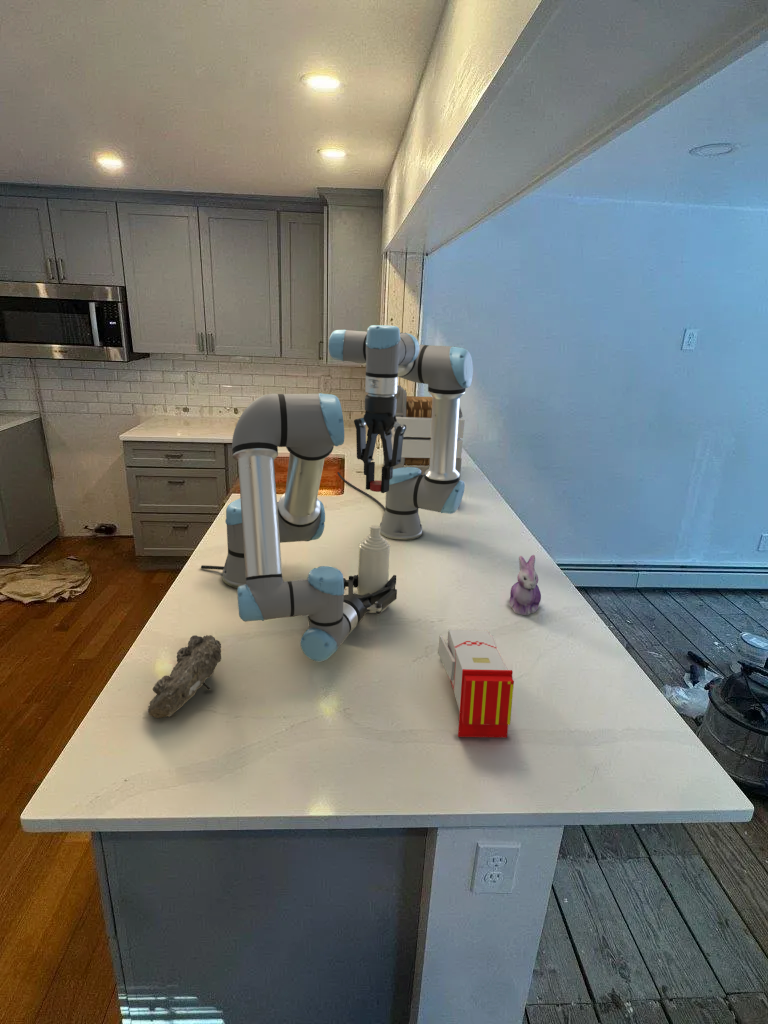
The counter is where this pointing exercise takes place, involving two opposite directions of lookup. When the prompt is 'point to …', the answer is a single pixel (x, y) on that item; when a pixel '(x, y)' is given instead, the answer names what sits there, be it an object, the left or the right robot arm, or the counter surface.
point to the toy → (478, 682)
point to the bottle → (373, 563)
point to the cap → (375, 486)
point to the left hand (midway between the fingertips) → (379, 576)
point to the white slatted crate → (419, 430)
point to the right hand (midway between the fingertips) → (377, 489)
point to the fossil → (186, 675)
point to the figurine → (525, 588)
